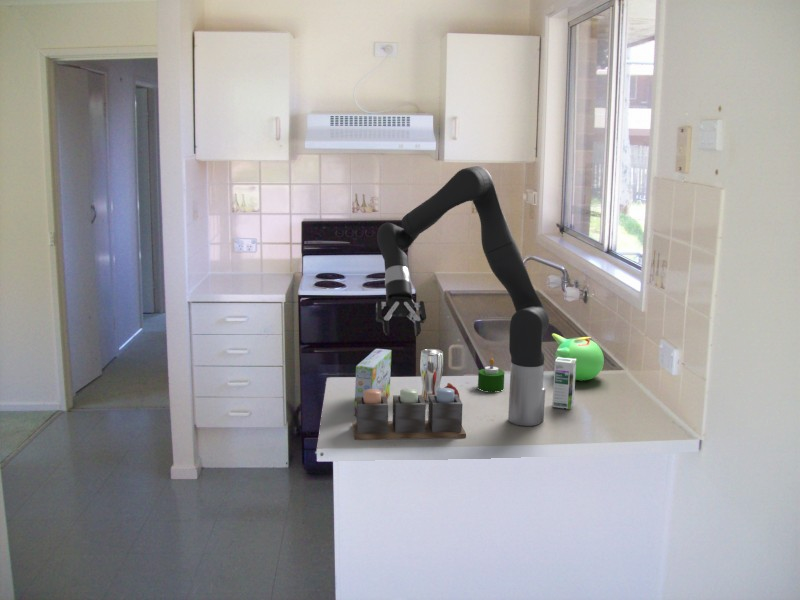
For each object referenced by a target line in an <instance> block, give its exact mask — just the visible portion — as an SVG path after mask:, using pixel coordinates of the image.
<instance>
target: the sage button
mask: <svg viewBox="0 0 800 600" xmlns="http://www.w3.org/2000/svg"><path fill="white" fill-rule="evenodd" d="M399 392H400V394H399V395H400V403H418V395H419V390H418V389H416V388H410V387H408V388H406V387H405V388H402V389H400V391H399Z"/></svg>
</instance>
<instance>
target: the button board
mask: <svg viewBox="0 0 800 600" xmlns="http://www.w3.org/2000/svg"><path fill="white" fill-rule="evenodd" d="M363 398H364V396H357V415H356V421H352V431H353V436H354V437H353V438H354V440H355V441H357V439H366V440H398V439H397V438H413V439H444V438H445V439H446V438H447V439H452V438H453V439H455V438H467V433H466V431H465V429H464V427H463V402H462V400H461V399H460V396H459V397H458V395H457V394H454V402H452V403H437V395H429V402H428V410H427V411H428V412H427V413H428V415H427V419H428V420H426V408H427V407H426V406H427V404H426V401H424V399H423V397H422V395H421V394H418V403H400V394H399V395H398V394H397V395H392V420H389V403H388V402H389V401H388V398H386V396H381V404H363Z"/></svg>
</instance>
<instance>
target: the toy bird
mask: <svg viewBox="0 0 800 600" xmlns="http://www.w3.org/2000/svg"><path fill="white" fill-rule="evenodd" d="M551 336H552V338H553V339H554V340H555V341H556V343H557V344H558V347H557V348H556V350H555V354H554V355H555V356H554V359H555V361H556V359H557V358H558V357H561V358H570V359H576V372H575V381H577V380H579V381H582V382H583V380H584V381H588V380H591V379H593V378H595V377H597V376H598V375H599V374H600V373H601V372H602V370H603V368H604V363H605V358H604V357H605V356H604V354H603V350H602V348H601V347H600V346H599V344H597V343H596V342H595V341H593V340H591V338H592V337H591V336H581V337H575V336H574V337H572V338H565V337H563V336H561V335H559V334H557V333H551ZM555 361H554V362H555ZM579 381H578V382H579Z"/></svg>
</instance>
